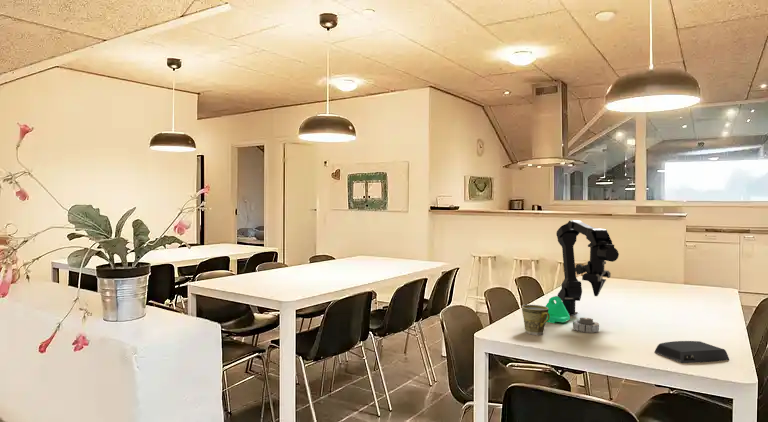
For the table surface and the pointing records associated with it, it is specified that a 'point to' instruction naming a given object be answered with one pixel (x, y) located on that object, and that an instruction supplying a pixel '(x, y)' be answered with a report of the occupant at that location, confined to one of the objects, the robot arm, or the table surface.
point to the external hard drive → (691, 352)
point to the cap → (586, 321)
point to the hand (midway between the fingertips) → (596, 296)
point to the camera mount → (557, 311)
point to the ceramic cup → (535, 318)
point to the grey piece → (586, 327)
